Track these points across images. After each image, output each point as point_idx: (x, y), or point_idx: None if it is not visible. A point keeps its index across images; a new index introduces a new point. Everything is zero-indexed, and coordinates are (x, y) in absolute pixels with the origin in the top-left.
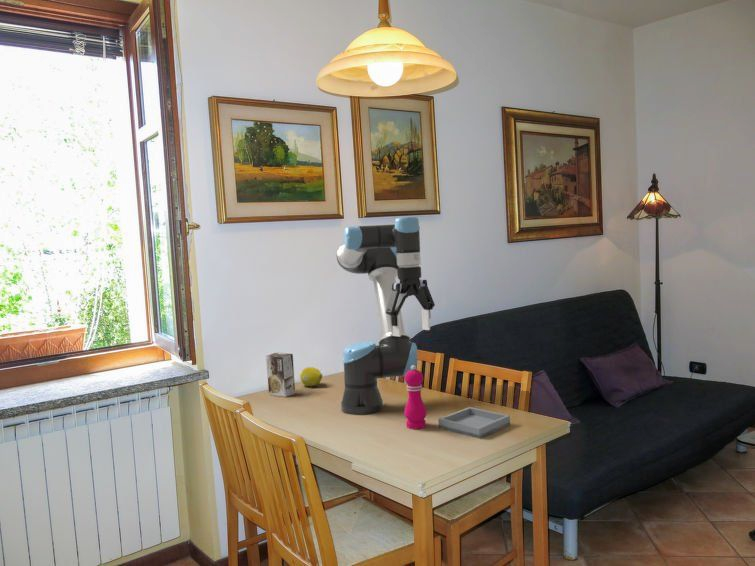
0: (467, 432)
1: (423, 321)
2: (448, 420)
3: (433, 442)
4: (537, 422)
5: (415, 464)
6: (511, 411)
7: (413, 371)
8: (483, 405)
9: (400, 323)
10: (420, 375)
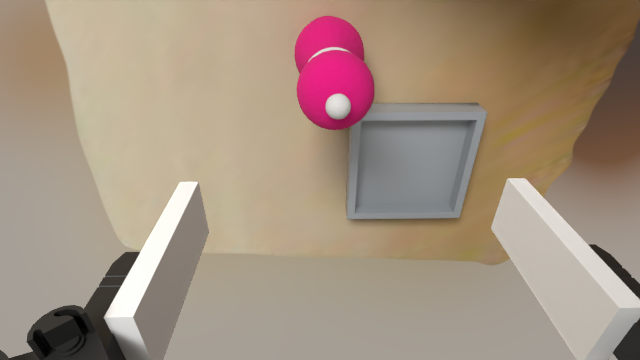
0: (347, 184)
1: (537, 231)
2: (356, 140)
3: (266, 155)
4: (491, 231)
5: (160, 201)
6: (551, 159)
7: (324, 112)
8: (585, 74)
9: (182, 305)
10: (338, 129)
